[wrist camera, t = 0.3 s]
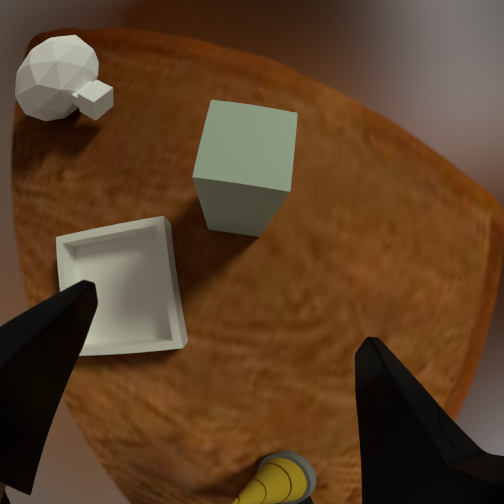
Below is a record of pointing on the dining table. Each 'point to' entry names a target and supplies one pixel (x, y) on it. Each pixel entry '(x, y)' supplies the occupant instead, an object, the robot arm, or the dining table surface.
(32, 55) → the perfume bottle
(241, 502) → the drill bit
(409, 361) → the dining table surface
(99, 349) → the tray
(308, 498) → the phone stand
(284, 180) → the block
